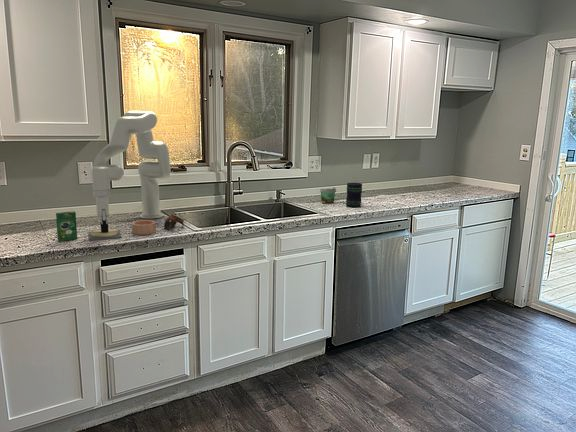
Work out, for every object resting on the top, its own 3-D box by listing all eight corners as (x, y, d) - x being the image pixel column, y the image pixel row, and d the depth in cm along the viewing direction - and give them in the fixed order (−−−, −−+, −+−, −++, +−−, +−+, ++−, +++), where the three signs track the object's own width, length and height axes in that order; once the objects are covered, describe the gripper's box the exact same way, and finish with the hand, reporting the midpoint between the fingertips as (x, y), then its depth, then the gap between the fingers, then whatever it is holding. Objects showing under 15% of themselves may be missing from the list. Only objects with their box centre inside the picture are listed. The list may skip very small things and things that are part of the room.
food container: (325, 205, 301) (326, 190, 299) (319, 203, 306) (320, 188, 304) (339, 203, 308) (340, 188, 306) (333, 201, 313) (333, 187, 311)
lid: (91, 232, 222) (90, 221, 220) (117, 230, 226) (116, 220, 225) (91, 238, 211) (90, 227, 210) (119, 236, 216) (118, 225, 215)
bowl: (131, 230, 229) (130, 220, 228) (154, 228, 233) (153, 219, 232) (133, 236, 219) (133, 226, 218) (157, 234, 223) (156, 224, 222)
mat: (88, 233, 222) (88, 232, 222) (119, 230, 228) (119, 229, 228) (89, 240, 210) (89, 239, 210) (121, 238, 215) (121, 236, 215)
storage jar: (343, 205, 301) (344, 182, 298) (355, 204, 305) (357, 182, 302) (350, 208, 292) (352, 185, 289) (364, 207, 296) (365, 184, 293)
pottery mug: (162, 227, 238) (169, 213, 239) (179, 235, 240) (186, 221, 241) (161, 227, 226) (168, 212, 227) (178, 235, 228) (186, 220, 229)
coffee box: (75, 237, 215) (73, 210, 212) (78, 238, 213) (75, 211, 210) (57, 240, 209) (54, 212, 206) (59, 242, 207) (57, 213, 204)
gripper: (92, 190, 220) (95, 227, 224) (93, 196, 205) (96, 236, 210) (109, 189, 223) (112, 226, 227) (111, 195, 208) (114, 234, 213)
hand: (104, 230), depth 218 cm, fingers closed on lid, 3 cm apart
